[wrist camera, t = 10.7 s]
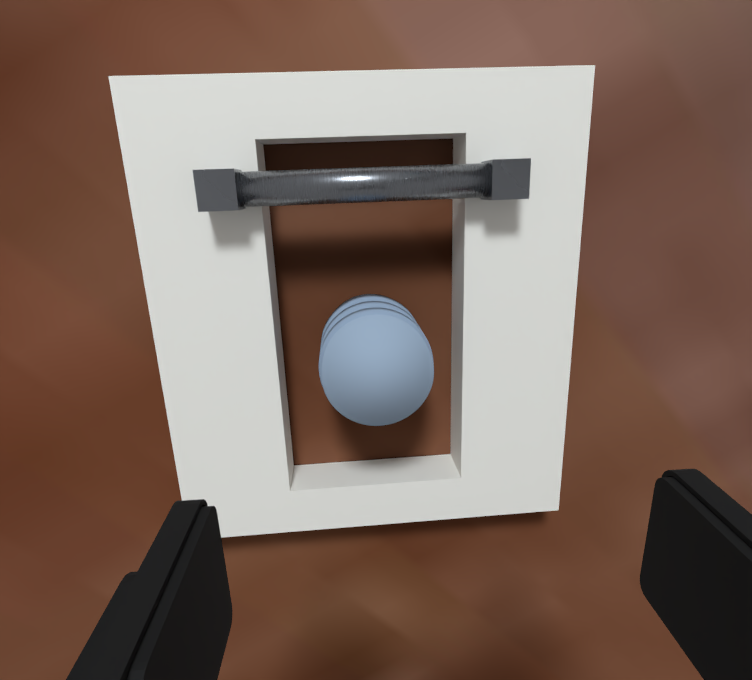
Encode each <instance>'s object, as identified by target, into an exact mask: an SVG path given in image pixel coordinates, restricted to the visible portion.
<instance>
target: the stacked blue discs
mask: <svg viewBox="0 0 752 680" xmlns="http://www.w3.org/2000/svg"><path fill="white" fill-rule="evenodd" d="M319 375H320V380H321V383H322V386H323V388H324V391H325V394H326V396H327V398H328V400H329V401H330V403H331V404H332V405H333V407H334V408H335V409H336V410H337V411H338V412H339V413H340V414H342V415H343V416H345V417H346V418H348V419H350V420H352V421H354V422H357V423H360V424H364V425H371V426H382V425H389V424H392V423H396V422H398V421H401V420H403V419H405V418H407V417H408V416H410V415H411V414H413V413H414V412H415V411H416V410H417V409H418V408H419V407H420V406H421V405H422V404H423V402H424V401H425V399H426V398H427V396H428V394H429V392H430V389H431V387H432V383H433V378H434V365H433V355H432V350H431V347H430V345H429V342H428V340H427V339H426V337H425V335H424V333H423V332H422V330H421V328H420V327H419V325H418V324H417V322H416V320H415V319H414V317H413V316H412V314H411V313H410V312H409V311H408V310H407V309H406V308H405V307H404V306H403V305H401V304H400V303H398V302H397V301H395V300H393V299H391V298H388V297H386V296H382V295H377V294H364V295H359V296H355V297H353V298H350V299H349V300H347V301H345V302H344V303H342V304H341V305H340V306H339V307H338V308H337V309H336V310H335V311H334V312H333V313H332V315H331V316H330V317H329V319H328V321H327V322H326V325H325V327H324V330H323V333H322V339H321V348H320V357H319Z"/></svg>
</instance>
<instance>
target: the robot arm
mask: <svg viewBox="0 0 752 680" xmlns="http://www.w3.org/2000/svg"><path fill="white" fill-rule="evenodd" d="M640 585H641V589H642V591H643V594H644V595H645V597H646V599H647V600H648V602H649V603H650V604H651V606H652V607H653V609H654V610H655V611H656V613H657V614H658V616H659V617H660V618H661V620H662V621H663V623H664V624H665V625H666V627H667V628H668V630H669V631H670V633H671V634H672V635H673V637H674V638H675V640H676V641H677V642H678V644H679V645H680V647H681V648H682V649H683V651H684V652H685V654H686V655H687V656H688V658H689V659H690V661H691V662H692V664H693V665H694V666H695V668H696V669H697V671H698V672H699V673H700V675H701V676H702V678H703V679H704V680H752V514H750V513H749V512H748V511H747V510H746V509H744V508H743V507H742V506H741V505H740V504H738V503H737V502H736V501H735V500H734V499H732V498H731V497H730V496H729V495H728V494H726V493H725V492H724V491H723V490H722V489H720V488H719V487H718V486H717V485H716V484H714V483H713V482H712V481H711V480H710V479H708V478H707V477H706V476H705V475H704V474H702V473H701V472H700V471H698V470H696V469H681V470H668V471H665V472H664V473H663V475H662V478H658V479H657V481H656V483H655V488H654V494H653V500H652V506H651V512H650V518H649V524H648V531H647V537H646V543H645V549H644V555H643V561H642V567H641V573H640ZM231 623H232V603H231V597H230V591H229V584H228V578H227V572H226V566H225V559H224V553H223V547H222V540H221V534H220V528H219V522H218V515H217V510H216V507H215V506H208V505H207V502H206V500H204V499H199V500H183V501H176V502H175V503H174V504H173V506H172V508H171V510H170V512H169V514H168V515H167V517H166V519H165V521H164V523H163V525H162V527H161V529H160V530H159V532H158V534H157V536H156V538H155V540H154V542H153V544H152V546H151V547H150V549H149V551H148V553H147V555H146V557H145V559H144V561H143V562H142V564H141V566H140V568H139V570H138V572H130V573H128V574H127V575H125V577H124V578H123V580H122V581H121V583H120V584H119V586H118V588H117V590H116V591H115V593H114V595H113V597H112V599H111V600H110V602H109V604H108V606H107V608H106V609H105V611H104V613H103V615H102V616H101V618H100V620H99V622H98V624H97V625H96V627H95V629H94V631H93V633H92V634H91V636H90V638H89V640H88V642H87V643H86V645H85V647H84V649H83V650H82V652H81V654H80V656H79V658H78V659H77V661H76V663H75V665H74V667H73V668H72V670H71V672H70V674H69V675H68V677H67V679H66V680H217V678H218V674H219V671H220V667H221V663H222V659H223V655H224V651H225V647H226V644H227V640H228V636H229V632H230V628H231Z"/></svg>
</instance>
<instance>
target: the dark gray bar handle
mask: <svg viewBox="0 0 752 680" xmlns="http://www.w3.org/2000/svg"><path fill="white" fill-rule="evenodd" d="M530 171H531V158H522V159H493V160H488V161H483V162H481V163H475V164H446V165H418V166H389V167H360V168H332V169H303V170H275V171H246V172H242V171H241V170H239V169H234V168H232V169H203V170H193V178H194V185H195V192H196V200H197V207H198V212H209V211H235V210H243V209H246V208H245V207H259V206H284V205H309V204H335V203H360V202H385V201H411V200H436V199H461V198H481V200H510V199H529V191H530Z"/></svg>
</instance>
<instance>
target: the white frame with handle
mask: <svg viewBox="0 0 752 680" xmlns="http://www.w3.org/2000/svg"><path fill="white" fill-rule="evenodd" d="M594 72H595V65H584V66H539V67H495V68H450V69H406V70H361V71H317V72H272V73H228V74H183V75H139V76H109V82H110V88H111V94H112V100H113V105H114V111H115V117H116V123H117V128H118V134H119V140H120V146H121V151H122V157H123V163H124V169H125V175H126V180H127V186H128V192H129V198H130V203H131V209H132V215H133V221H134V227H135V232H136V238H137V244H138V250H139V255H140V261H141V267H142V273H143V278H144V284H145V290H146V296H147V302H148V307H149V313H150V319H151V325H152V330H153V336H154V342H155V348H156V354H157V359H158V365H159V371H160V377H161V382H162V388H163V394H164V400H165V406H166V411H167V417H168V423H169V429H170V434H171V440H172V446H173V452H174V457H175V463H176V469H177V475H178V481H179V486H180V492H181V498H182V501H183V500H199V499H204V500H206V502H207V505H208V506H215V507H216V510H217V515H218V522H219V528H220V534H221V538H222V537H234V536H247V535H259V534H271V533H284V532H296V531H308V530H321V529H333V528H345V527H357V526H370V525H382V524H394V523H407V522H419V521H431V520H444V519H456V518H468V517H481V516H493V515H505V514H518V513H530V512H542V511H554V510H559V498H560V486H561V474H562V461H563V449H564V437H565V425H566V413H567V401H568V388H569V376H570V364H571V352H572V340H573V327H574V315H575V303H576V291H577V279H578V267H579V254H580V242H581V230H582V218H583V206H584V194H585V181H586V169H587V157H588V145H589V133H590V121H591V108H592V96H593V84H594ZM421 139H453V164H475V163H481V162H483V161H488V160H493V159H522V158H531V171H530V191H529V199H510V200H481V198H461V199H453V216H452V337H451V454H445V455H432V456H418V457H404V458H390V459H377V460H363V461H349V462H335V463H322V464H308V465H294V462H293V452H292V441H291V431H290V420H289V410H288V399H287V389H286V378H285V368H284V357H283V347H282V336H281V326H280V315H279V305H278V294H277V284H276V273H275V263H274V252H273V242H272V231H271V221H270V210H269V206H259V207H245V208H246V209H243V210H235V211H209V212H198V207H197V200H196V192H195V185H194V178H193V170H203V169H232V168H234V169H239V170H241V171H242V172H246V171H266V168H265V158H264V147H263V144H295V143H327V142H358V141H390V140H421Z"/></svg>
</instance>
